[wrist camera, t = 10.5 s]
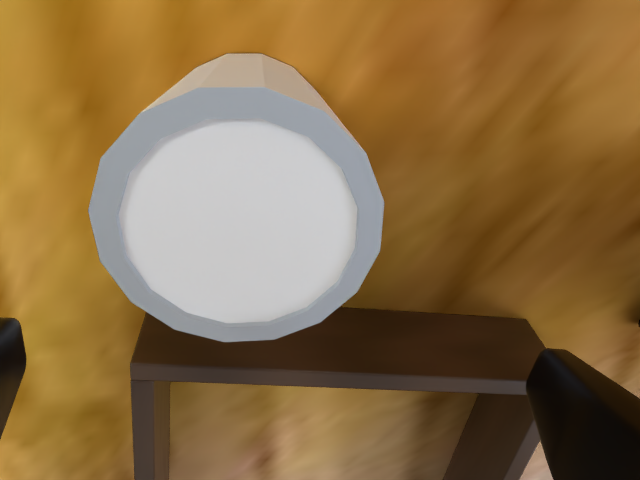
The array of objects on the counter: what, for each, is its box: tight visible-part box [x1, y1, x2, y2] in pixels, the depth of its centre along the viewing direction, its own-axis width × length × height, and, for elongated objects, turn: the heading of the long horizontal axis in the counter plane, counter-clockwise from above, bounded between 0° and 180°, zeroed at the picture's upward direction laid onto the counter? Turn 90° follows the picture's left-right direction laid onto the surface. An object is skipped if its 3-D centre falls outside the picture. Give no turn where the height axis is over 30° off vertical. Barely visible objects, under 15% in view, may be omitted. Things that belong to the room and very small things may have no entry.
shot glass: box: [88, 54, 384, 342], centre depth 15 cm, size 7×7×7 cm
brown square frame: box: [130, 307, 546, 480], centre depth 24 cm, size 17×16×4 cm
